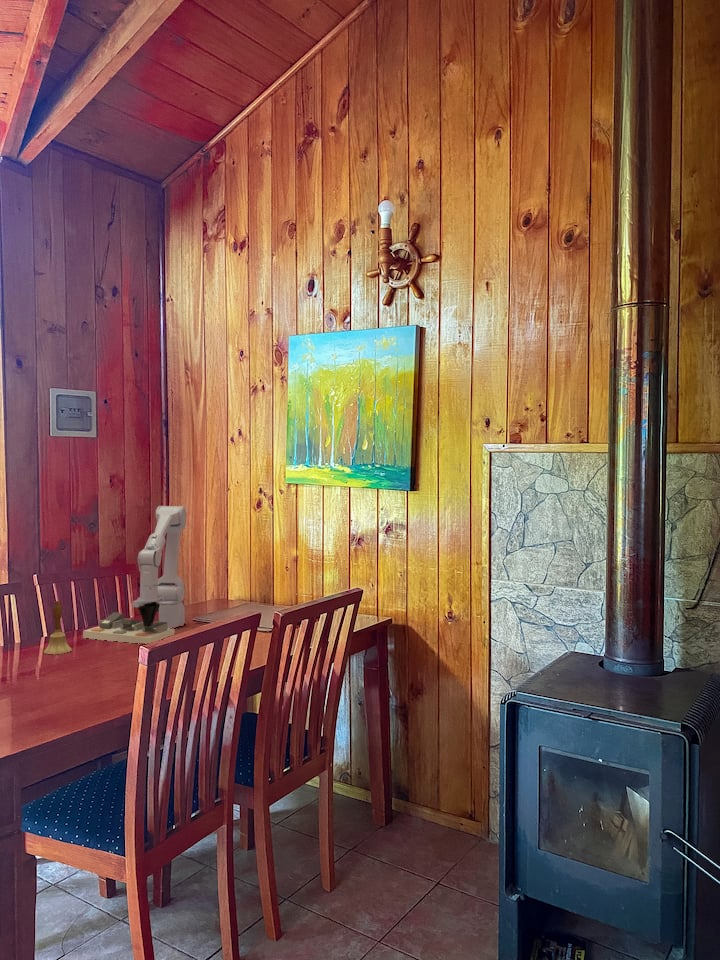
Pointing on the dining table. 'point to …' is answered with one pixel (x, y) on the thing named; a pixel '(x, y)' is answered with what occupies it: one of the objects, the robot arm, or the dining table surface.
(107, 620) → the rocker
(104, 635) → the switch panel
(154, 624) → the block
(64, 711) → the dining table surface
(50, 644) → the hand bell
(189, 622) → the dining table surface
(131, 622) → the rocker middle
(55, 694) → the dining table surface
